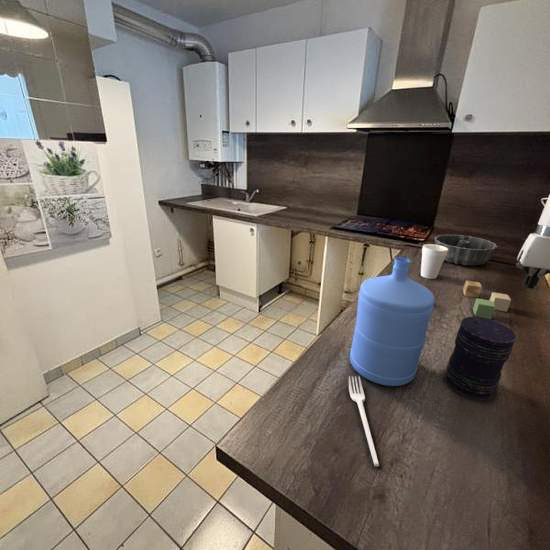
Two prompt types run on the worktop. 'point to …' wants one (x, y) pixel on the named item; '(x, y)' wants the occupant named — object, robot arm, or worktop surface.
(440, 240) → the bundt pan
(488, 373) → the dark blue cylinder
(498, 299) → the beige block
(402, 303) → the water jug
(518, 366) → the worktop surface
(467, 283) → the maple block
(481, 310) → the sage block
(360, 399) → the fork
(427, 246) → the foam cup
